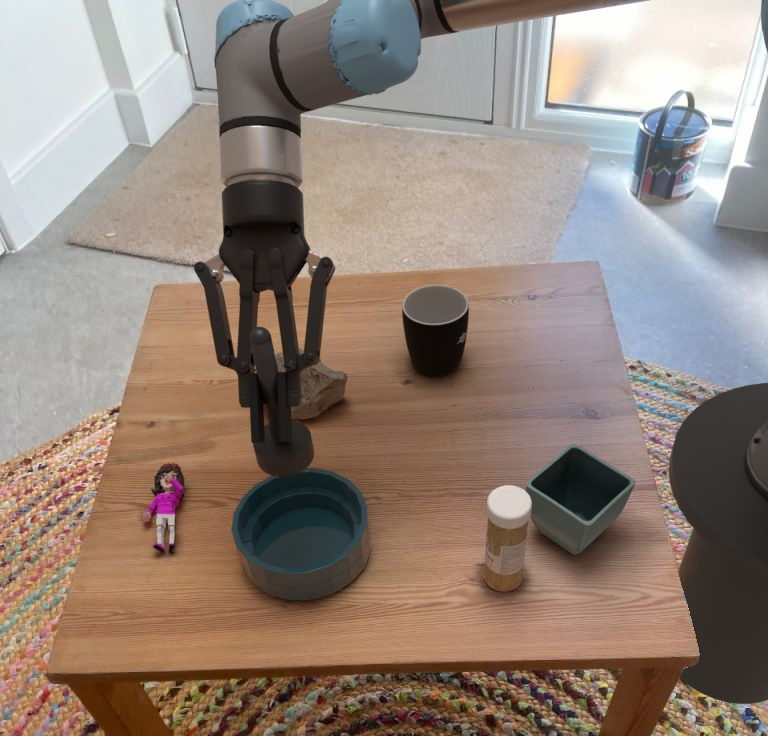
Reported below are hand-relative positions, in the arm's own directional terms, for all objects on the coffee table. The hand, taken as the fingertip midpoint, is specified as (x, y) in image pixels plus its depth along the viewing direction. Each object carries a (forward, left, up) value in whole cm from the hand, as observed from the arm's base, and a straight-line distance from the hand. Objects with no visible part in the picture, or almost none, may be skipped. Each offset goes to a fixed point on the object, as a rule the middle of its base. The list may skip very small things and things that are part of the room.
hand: (272, 441), depth 80 cm
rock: (+28, -7, -22) cm, 36 cm away
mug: (+31, -28, -22) cm, 47 cm away
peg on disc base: (+4, -1, -6) cm, 7 cm away
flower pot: (-5, -31, -22) cm, 39 cm away
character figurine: (+15, +13, -22) cm, 30 cm away
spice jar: (-8, -21, -22) cm, 32 cm away
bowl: (+4, -1, -22) cm, 23 cm away
